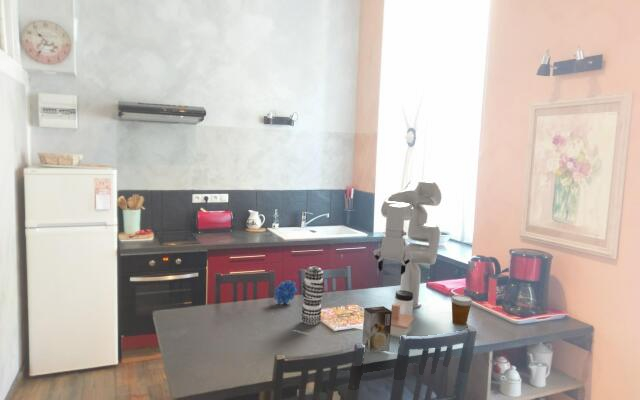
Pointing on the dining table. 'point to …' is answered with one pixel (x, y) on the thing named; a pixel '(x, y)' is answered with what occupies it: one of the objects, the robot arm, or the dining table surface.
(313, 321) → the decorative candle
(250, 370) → the dining table surface
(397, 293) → the jar
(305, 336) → the dining table surface
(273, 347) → the dining table surface
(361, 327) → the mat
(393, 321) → the lid
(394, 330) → the dish
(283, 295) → the grapes
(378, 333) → the coffee box
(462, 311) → the disposable coffee cup
